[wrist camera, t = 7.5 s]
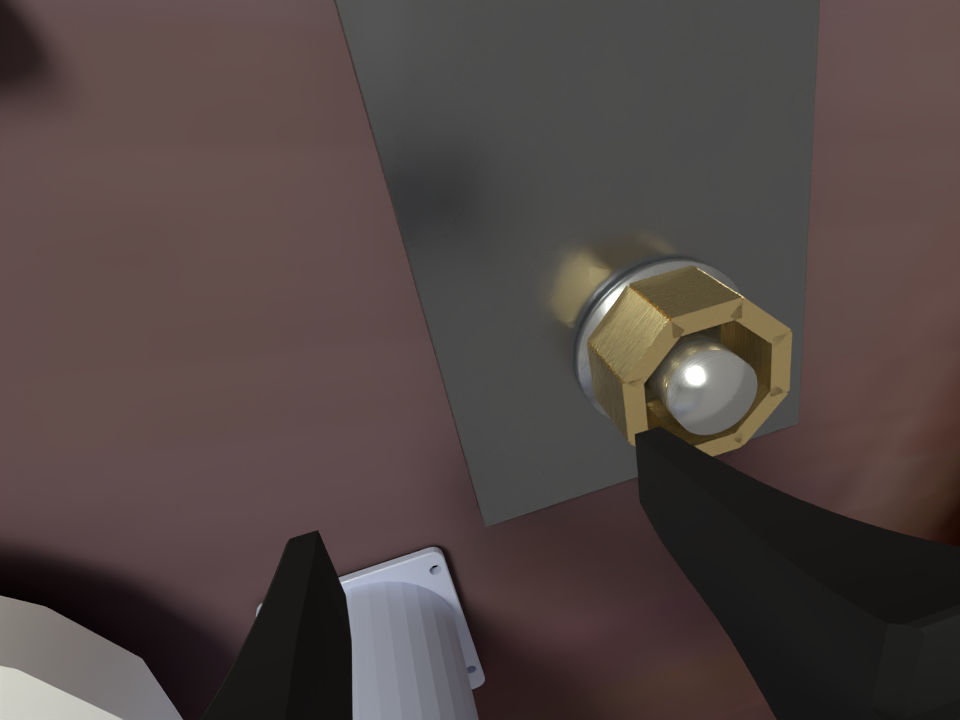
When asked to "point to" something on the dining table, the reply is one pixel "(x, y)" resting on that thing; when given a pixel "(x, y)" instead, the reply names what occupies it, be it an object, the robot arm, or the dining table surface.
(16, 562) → the dining table surface
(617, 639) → the dining table surface
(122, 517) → the dining table surface
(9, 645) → the candle holder
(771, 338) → the ring
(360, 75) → the block
